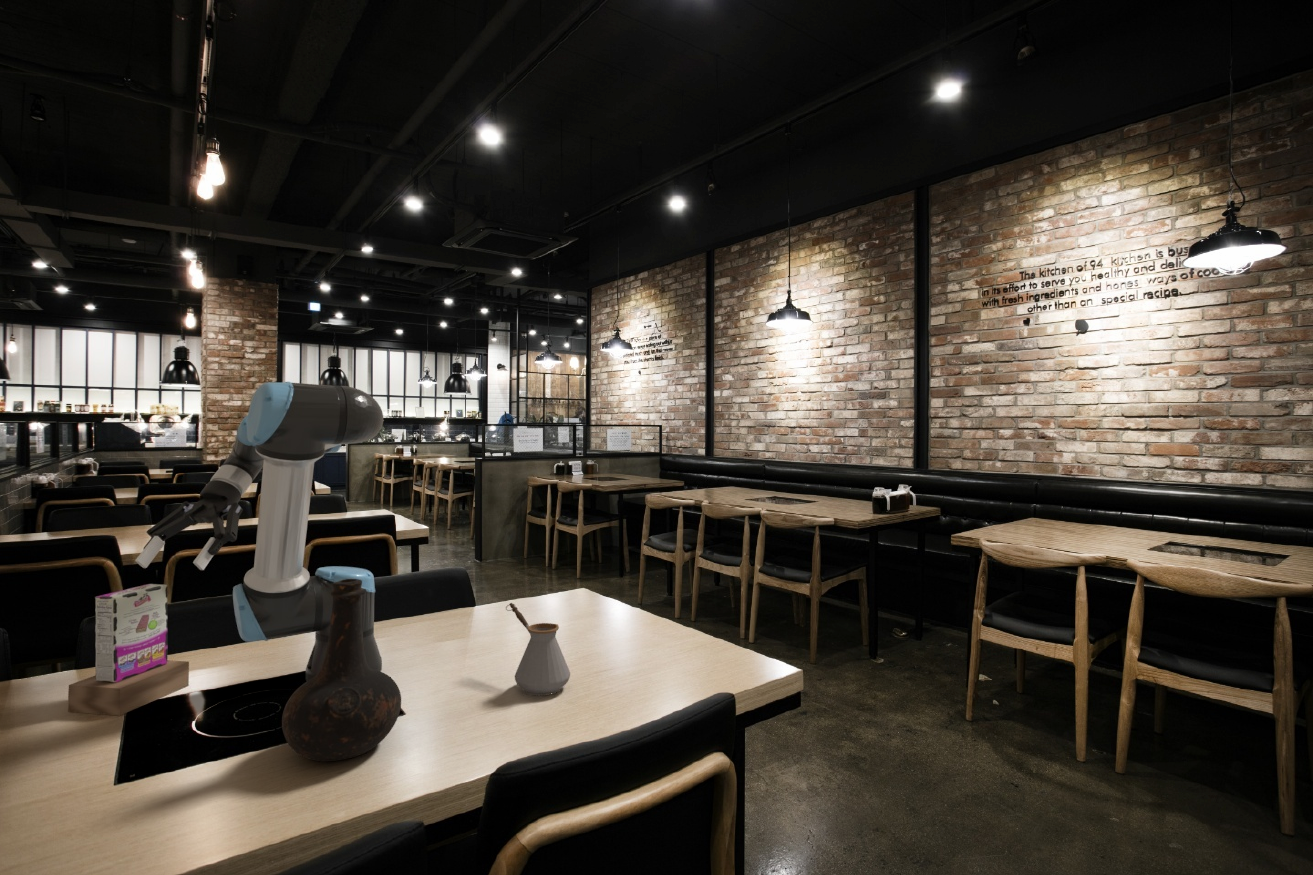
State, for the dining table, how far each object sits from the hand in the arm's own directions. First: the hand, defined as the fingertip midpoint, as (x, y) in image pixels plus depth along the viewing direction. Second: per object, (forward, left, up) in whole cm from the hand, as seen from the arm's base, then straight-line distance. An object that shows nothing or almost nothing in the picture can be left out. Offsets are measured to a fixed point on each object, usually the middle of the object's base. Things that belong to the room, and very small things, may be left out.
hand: (169, 565), depth 137 cm
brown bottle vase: (-54, +21, -25) cm, 64 cm away
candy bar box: (0, +8, -20) cm, 22 cm away
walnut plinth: (0, +8, -25) cm, 26 cm away
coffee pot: (-75, -13, -25) cm, 80 cm away
